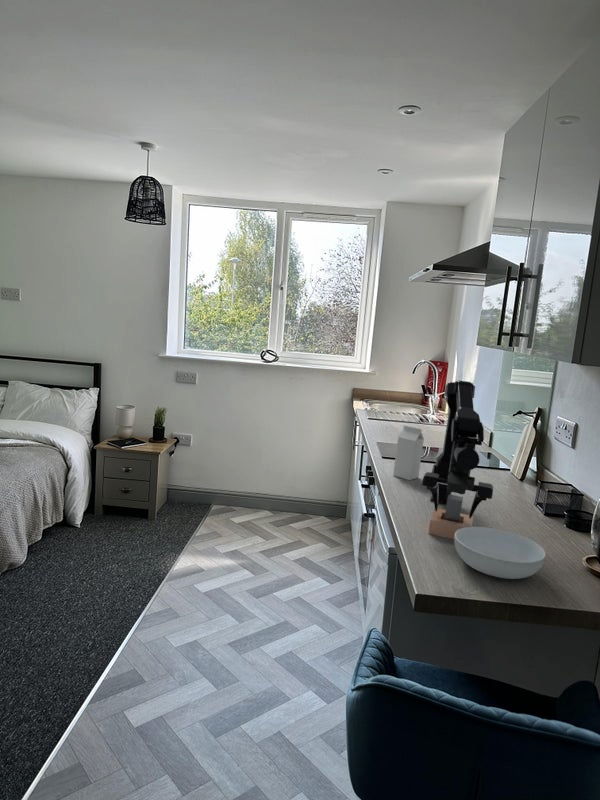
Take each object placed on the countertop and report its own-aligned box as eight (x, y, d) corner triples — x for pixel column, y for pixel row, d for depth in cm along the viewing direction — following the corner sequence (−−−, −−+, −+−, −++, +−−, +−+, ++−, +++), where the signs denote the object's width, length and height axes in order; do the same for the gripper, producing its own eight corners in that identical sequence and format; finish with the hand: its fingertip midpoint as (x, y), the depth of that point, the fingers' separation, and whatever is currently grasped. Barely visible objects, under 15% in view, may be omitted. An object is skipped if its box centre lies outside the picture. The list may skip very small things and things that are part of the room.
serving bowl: (521, 555, 143) (526, 530, 142) (555, 595, 123) (561, 567, 122) (442, 546, 144) (446, 521, 143) (462, 584, 123) (467, 556, 122)
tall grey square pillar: (443, 527, 157) (448, 494, 156) (457, 530, 156) (463, 497, 155) (442, 532, 154) (447, 498, 152) (457, 535, 152) (462, 501, 151)
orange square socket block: (432, 520, 162) (434, 508, 161) (471, 529, 158) (473, 516, 158) (428, 533, 151) (430, 519, 151) (469, 542, 148) (471, 528, 147)
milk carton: (410, 480, 201) (417, 430, 198) (392, 475, 205) (399, 426, 202) (418, 477, 207) (425, 428, 204) (401, 472, 211) (408, 424, 208)
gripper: (423, 460, 147) (415, 516, 150) (496, 474, 141) (487, 531, 144) (428, 452, 158) (420, 504, 160) (496, 464, 152) (487, 518, 154)
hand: (452, 514), depth 154 cm, fingers open, 9 cm apart
